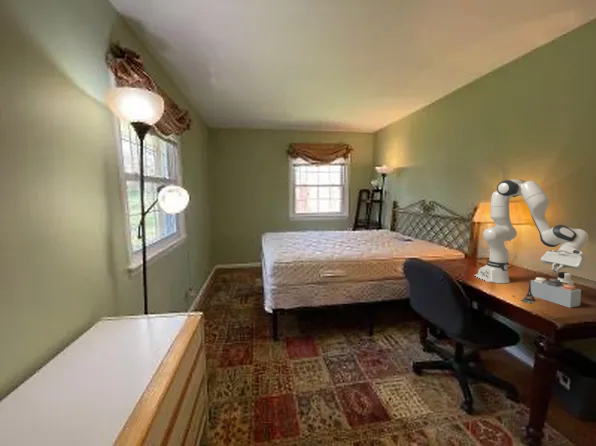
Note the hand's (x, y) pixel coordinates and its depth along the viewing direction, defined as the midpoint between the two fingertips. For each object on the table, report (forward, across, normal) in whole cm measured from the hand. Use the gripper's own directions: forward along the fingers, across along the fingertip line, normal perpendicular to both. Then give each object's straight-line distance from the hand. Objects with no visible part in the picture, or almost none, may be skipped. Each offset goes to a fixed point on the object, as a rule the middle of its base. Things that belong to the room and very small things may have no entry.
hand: (554, 271), depth 176 cm
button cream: (+10, -8, +10) cm, 16 cm away
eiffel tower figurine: (+22, -5, +4) cm, 23 cm away
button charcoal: (+9, 0, +10) cm, 13 cm away
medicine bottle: (-4, -9, +28) cm, 30 cm away
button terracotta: (+10, +7, +10) cm, 16 cm away
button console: (+12, 0, +13) cm, 17 cm away
